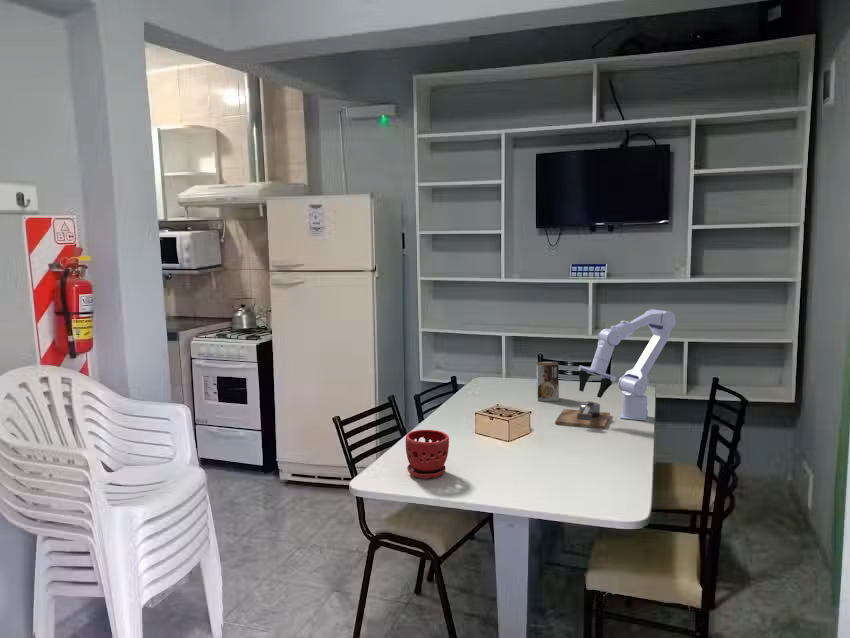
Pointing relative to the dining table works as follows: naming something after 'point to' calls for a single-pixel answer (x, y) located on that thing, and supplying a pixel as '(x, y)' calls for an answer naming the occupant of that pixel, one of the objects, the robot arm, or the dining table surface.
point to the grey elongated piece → (588, 410)
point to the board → (570, 419)
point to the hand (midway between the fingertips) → (589, 394)
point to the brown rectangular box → (547, 381)
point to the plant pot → (427, 453)
